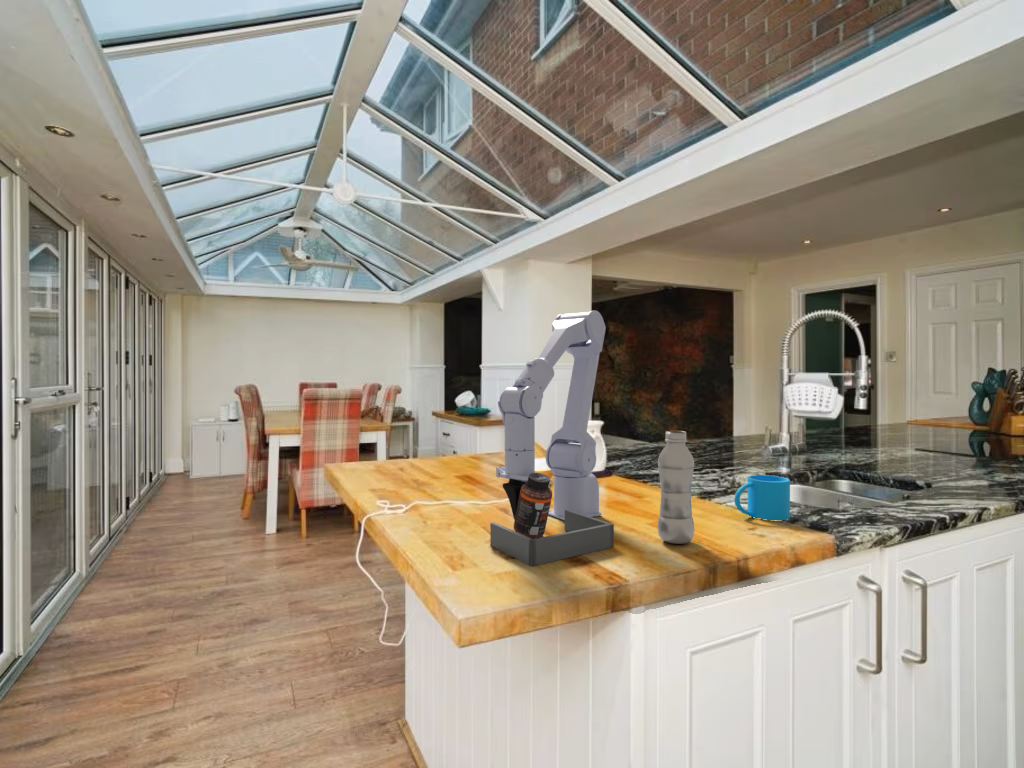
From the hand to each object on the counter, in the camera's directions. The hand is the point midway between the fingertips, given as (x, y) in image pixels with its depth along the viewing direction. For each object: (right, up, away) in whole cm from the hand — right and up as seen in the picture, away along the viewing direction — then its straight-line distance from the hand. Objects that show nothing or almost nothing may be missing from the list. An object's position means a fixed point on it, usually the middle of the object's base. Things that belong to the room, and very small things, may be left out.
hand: (519, 519), depth 105 cm
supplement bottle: (+2, -2, -3) cm, 3 cm away
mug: (+51, -2, +11) cm, 52 cm away
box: (+5, -3, -8) cm, 10 cm away
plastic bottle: (+28, -3, -6) cm, 29 cm away
